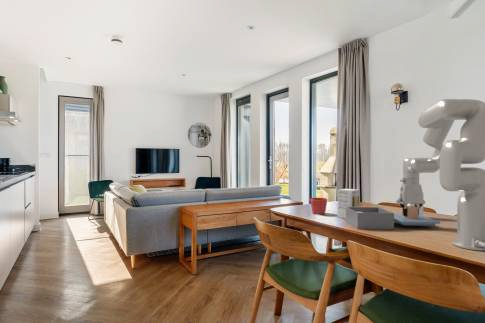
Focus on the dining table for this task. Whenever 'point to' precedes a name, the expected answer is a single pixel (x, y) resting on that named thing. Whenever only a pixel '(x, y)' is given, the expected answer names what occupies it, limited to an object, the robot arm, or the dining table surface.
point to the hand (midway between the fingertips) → (410, 215)
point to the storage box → (369, 218)
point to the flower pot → (318, 205)
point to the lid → (414, 218)
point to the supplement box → (347, 200)
